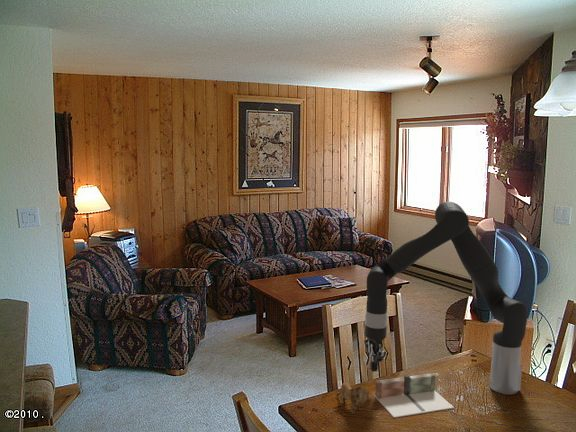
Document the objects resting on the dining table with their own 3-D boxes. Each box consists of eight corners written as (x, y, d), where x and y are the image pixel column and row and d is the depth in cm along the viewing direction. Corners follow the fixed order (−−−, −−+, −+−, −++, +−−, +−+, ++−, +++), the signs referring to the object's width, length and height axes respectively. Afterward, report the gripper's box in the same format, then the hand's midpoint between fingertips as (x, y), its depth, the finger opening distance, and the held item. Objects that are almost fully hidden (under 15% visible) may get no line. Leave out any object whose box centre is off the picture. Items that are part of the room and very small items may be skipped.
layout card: (430, 388, 177) (431, 386, 177) (454, 408, 164) (454, 406, 164) (374, 396, 171) (374, 394, 171) (393, 417, 158) (393, 416, 158)
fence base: (431, 388, 176) (432, 371, 175) (434, 391, 174) (435, 374, 173) (402, 392, 173) (403, 375, 172) (405, 395, 171) (405, 378, 170)
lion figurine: (371, 413, 160) (372, 387, 159) (359, 418, 157) (360, 392, 156) (341, 394, 172) (342, 370, 171) (329, 398, 169) (330, 374, 168)
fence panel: (401, 392, 173) (402, 377, 172) (404, 394, 171) (404, 379, 170) (375, 395, 170) (375, 380, 169) (377, 398, 168) (378, 383, 167)
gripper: (394, 329, 167) (392, 377, 170) (377, 316, 180) (375, 361, 182) (374, 331, 165) (372, 380, 168) (358, 318, 178) (356, 363, 180)
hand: (373, 370), depth 175 cm, fingers closed
